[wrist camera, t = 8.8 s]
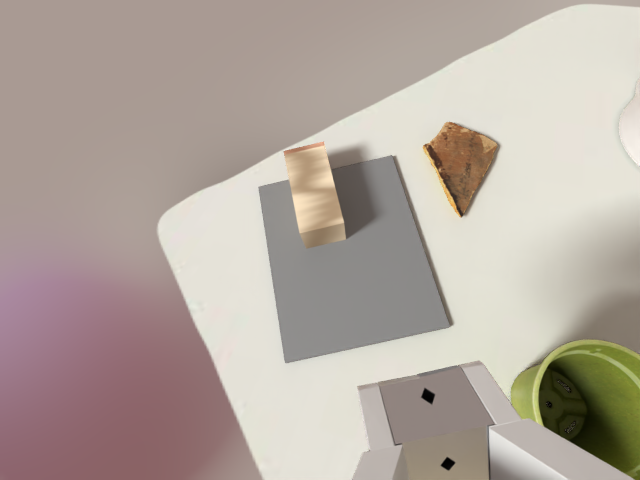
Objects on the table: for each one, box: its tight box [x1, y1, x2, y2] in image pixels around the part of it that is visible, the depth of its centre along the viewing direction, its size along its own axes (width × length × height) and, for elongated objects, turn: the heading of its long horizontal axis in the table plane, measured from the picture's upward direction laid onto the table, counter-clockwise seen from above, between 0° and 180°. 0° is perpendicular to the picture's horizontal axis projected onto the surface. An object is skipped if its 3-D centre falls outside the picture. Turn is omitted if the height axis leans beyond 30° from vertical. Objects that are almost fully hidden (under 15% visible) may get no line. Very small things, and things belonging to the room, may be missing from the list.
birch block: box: [284, 142, 346, 249], centre depth 37 cm, size 4×4×10 cm
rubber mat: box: [259, 155, 450, 363], centre depth 37 cm, size 16×20×1 cm
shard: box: [423, 122, 497, 217], centre depth 40 cm, size 11×8×2 cm
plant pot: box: [511, 339, 640, 480], centre depth 26 cm, size 9×9×9 cm
